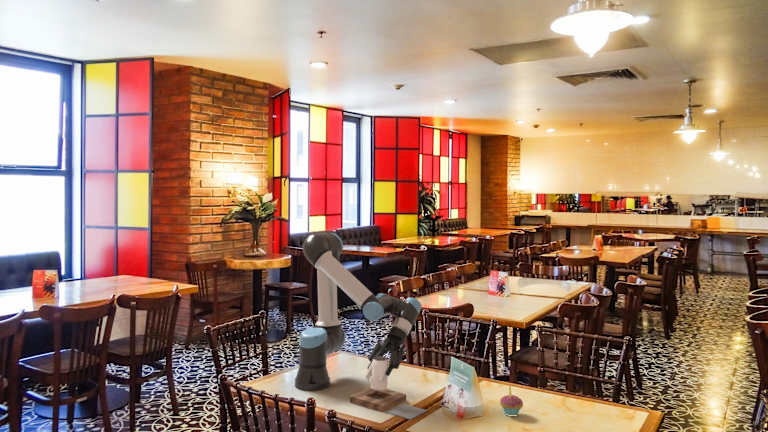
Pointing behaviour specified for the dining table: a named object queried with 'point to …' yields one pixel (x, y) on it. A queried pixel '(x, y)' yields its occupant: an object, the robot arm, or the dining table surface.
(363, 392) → the holder
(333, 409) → the dining table surface
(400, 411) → the mat
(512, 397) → the cupcake
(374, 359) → the can
